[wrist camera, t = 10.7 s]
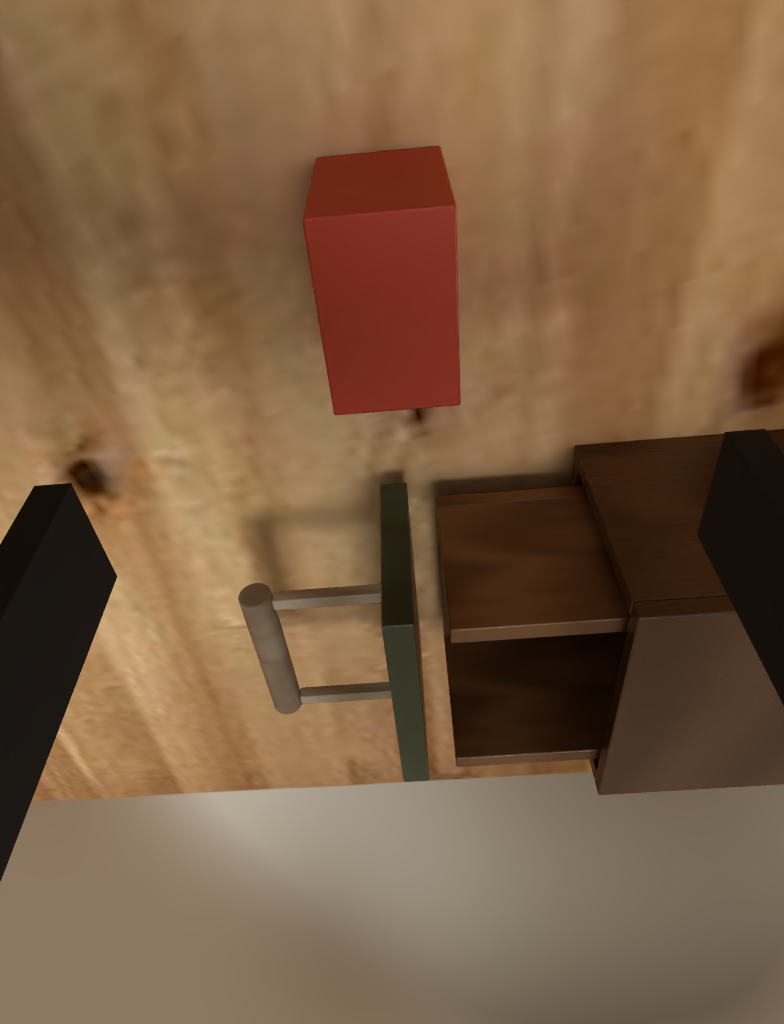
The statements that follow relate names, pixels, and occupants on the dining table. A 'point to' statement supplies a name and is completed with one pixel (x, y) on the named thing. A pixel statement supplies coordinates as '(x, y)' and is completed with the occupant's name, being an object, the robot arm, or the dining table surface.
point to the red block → (385, 279)
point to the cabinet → (676, 630)
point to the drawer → (481, 628)
